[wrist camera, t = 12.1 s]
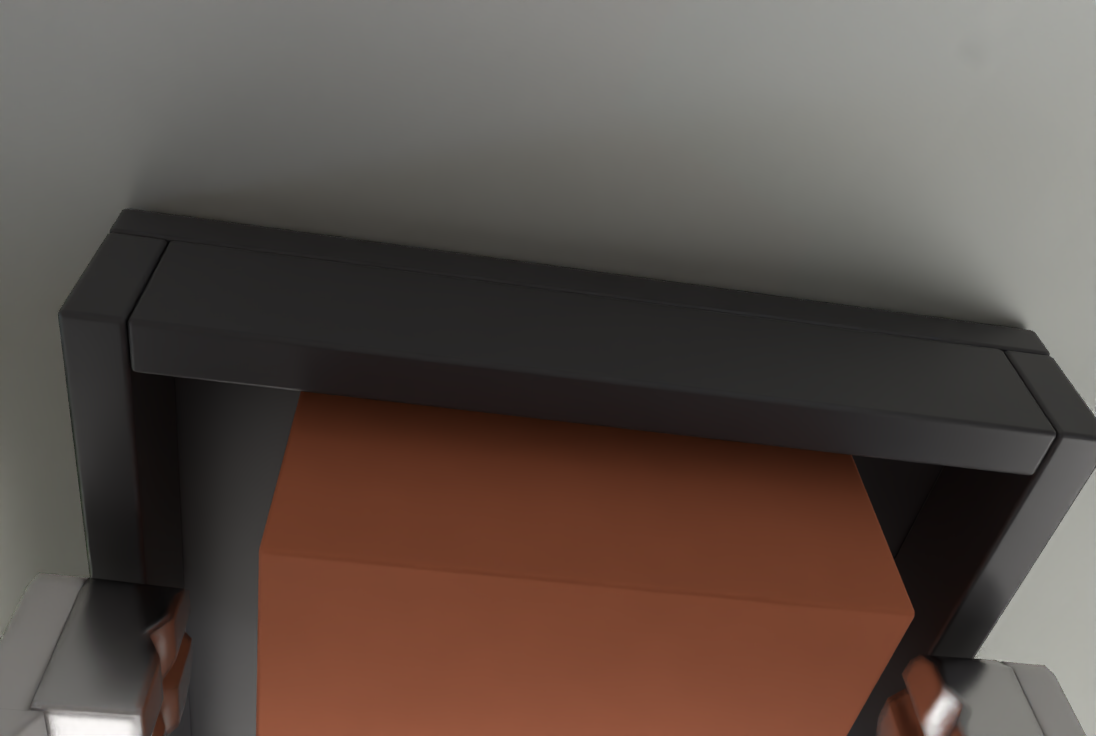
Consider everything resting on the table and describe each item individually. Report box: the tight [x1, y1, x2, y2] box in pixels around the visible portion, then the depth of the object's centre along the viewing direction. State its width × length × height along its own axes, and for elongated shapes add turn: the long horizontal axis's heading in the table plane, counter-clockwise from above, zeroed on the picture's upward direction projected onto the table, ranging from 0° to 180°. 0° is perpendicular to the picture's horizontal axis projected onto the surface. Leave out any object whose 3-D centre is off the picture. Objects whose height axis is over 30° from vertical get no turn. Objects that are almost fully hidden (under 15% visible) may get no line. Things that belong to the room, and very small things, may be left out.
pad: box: [256, 391, 915, 736], centre depth 12 cm, size 6×5×3 cm
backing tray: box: [58, 209, 1096, 736], centre depth 14 cm, size 10×13×2 cm
